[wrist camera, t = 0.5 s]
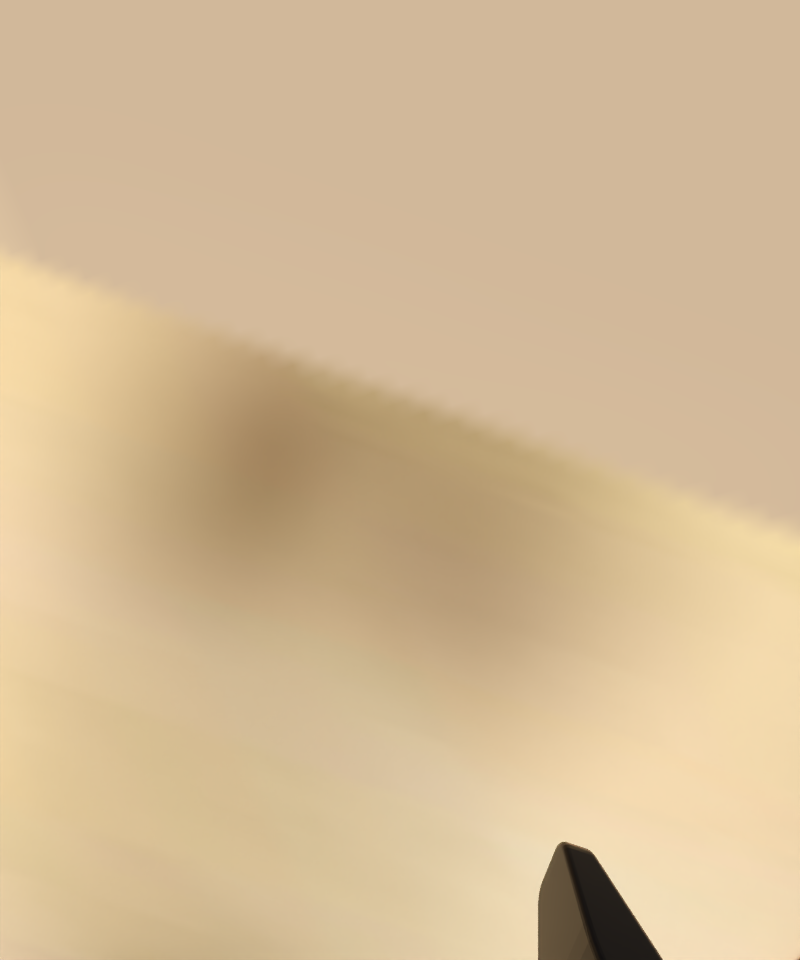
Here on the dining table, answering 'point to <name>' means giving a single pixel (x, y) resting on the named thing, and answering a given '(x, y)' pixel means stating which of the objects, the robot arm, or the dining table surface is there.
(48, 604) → the dining table surface
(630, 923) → the robot arm
